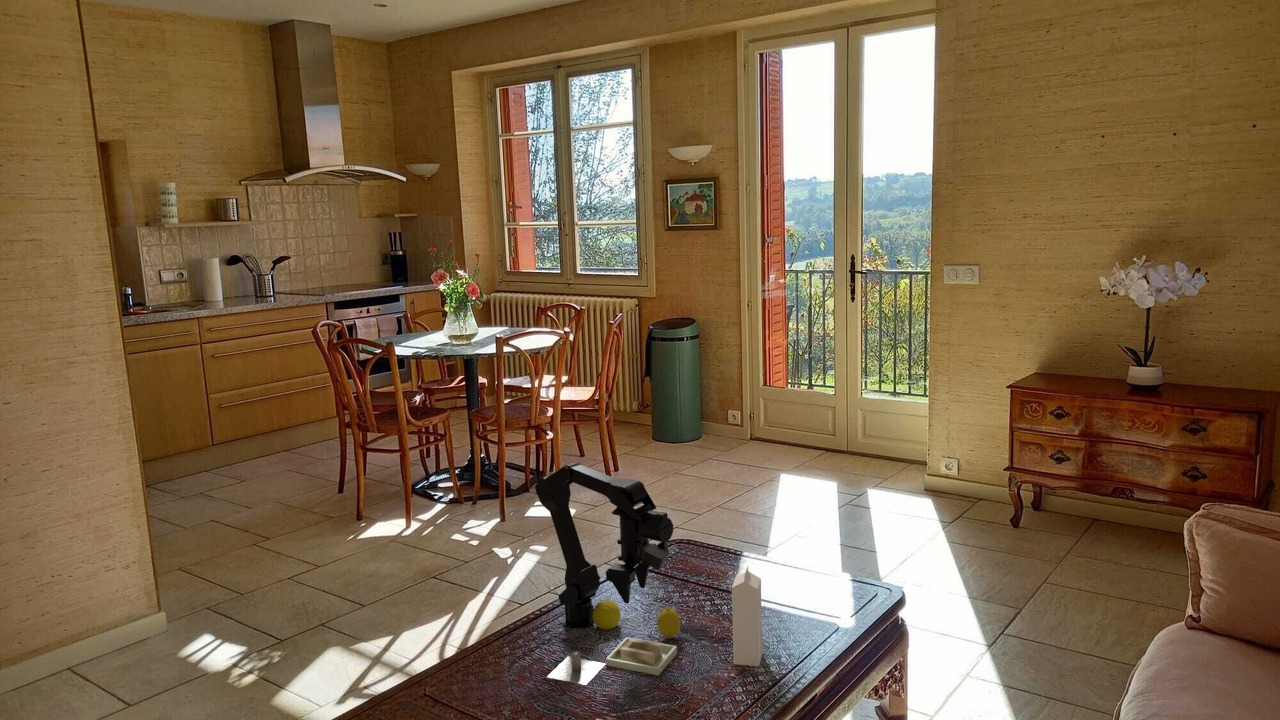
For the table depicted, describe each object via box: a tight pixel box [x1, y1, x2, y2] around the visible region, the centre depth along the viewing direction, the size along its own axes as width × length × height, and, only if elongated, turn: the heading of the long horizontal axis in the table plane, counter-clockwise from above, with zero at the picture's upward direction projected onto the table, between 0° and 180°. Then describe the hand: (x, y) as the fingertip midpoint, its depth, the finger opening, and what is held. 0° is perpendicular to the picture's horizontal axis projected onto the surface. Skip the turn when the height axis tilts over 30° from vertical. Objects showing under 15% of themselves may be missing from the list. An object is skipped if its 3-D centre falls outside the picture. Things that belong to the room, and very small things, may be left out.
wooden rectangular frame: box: [618, 637, 663, 666], centre depth 212 cm, size 10×6×3 cm, turn 66°
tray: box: [605, 636, 678, 676], centre depth 212 cm, size 13×11×2 cm
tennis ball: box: [593, 599, 622, 630], centre depth 228 cm, size 7×7×7 cm
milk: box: [731, 565, 763, 667], centre depth 209 cm, size 6×6×22 cm
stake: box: [546, 650, 606, 686], centre depth 208 cm, size 10×10×5 cm
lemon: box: [657, 607, 681, 640], centre depth 221 cm, size 6×6×8 cm
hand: (634, 595), depth 219 cm, fingers open, 9 cm apart
